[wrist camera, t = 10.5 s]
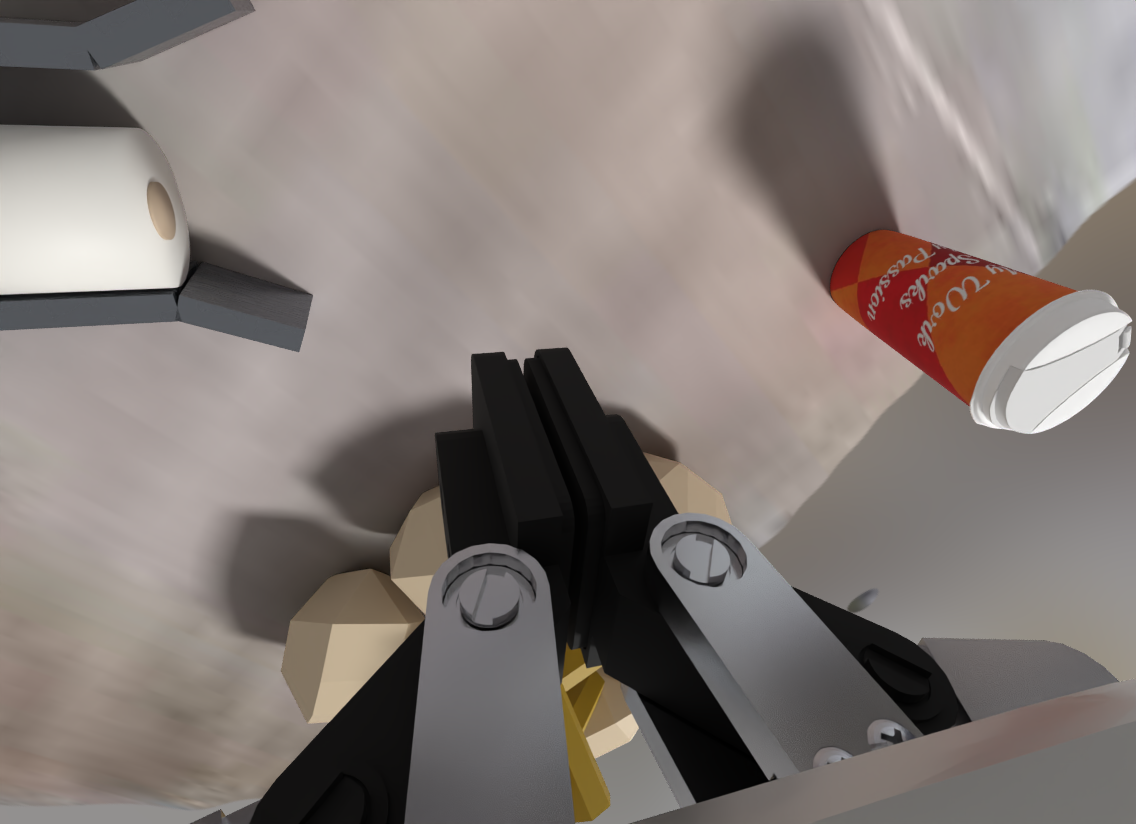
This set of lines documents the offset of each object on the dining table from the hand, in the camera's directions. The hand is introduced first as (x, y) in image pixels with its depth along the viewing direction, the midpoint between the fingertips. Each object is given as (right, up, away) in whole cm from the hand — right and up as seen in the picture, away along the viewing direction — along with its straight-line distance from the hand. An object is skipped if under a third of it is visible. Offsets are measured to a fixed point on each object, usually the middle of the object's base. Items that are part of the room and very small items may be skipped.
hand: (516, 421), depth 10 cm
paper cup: (+21, +10, +28) cm, 36 cm away
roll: (-21, +10, +13) cm, 27 cm away
